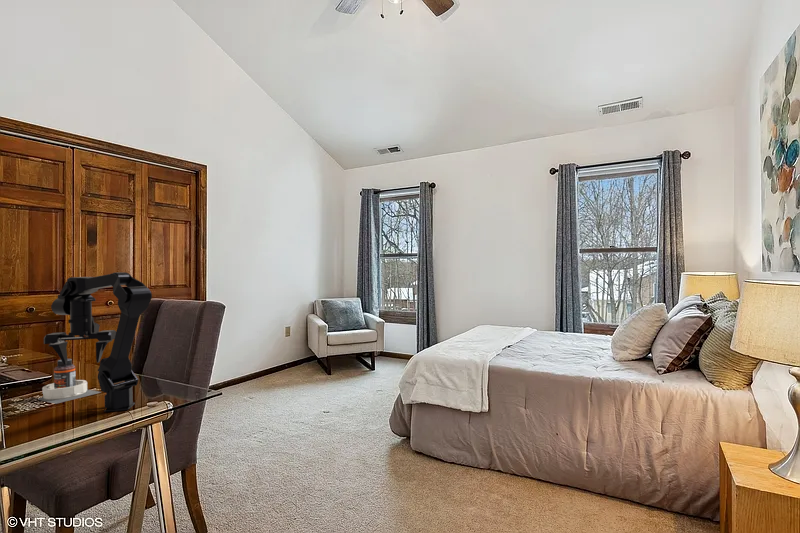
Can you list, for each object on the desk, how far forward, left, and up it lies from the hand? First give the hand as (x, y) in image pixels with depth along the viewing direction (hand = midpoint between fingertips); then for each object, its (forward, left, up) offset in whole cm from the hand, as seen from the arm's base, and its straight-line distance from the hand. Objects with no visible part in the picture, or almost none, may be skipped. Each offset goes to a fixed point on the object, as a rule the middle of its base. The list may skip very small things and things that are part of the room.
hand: (82, 363), depth 142 cm
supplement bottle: (+10, -12, -12) cm, 19 cm away
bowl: (+10, -12, -13) cm, 20 cm away
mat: (+10, -12, -13) cm, 20 cm away
